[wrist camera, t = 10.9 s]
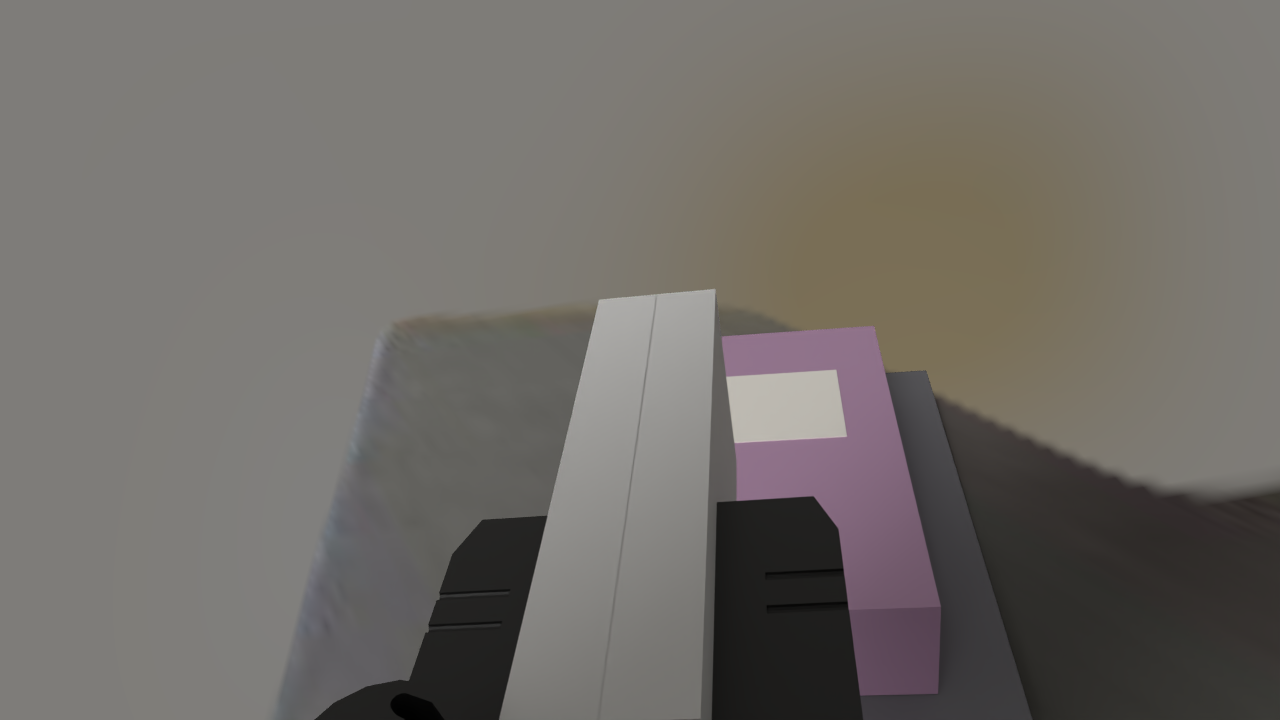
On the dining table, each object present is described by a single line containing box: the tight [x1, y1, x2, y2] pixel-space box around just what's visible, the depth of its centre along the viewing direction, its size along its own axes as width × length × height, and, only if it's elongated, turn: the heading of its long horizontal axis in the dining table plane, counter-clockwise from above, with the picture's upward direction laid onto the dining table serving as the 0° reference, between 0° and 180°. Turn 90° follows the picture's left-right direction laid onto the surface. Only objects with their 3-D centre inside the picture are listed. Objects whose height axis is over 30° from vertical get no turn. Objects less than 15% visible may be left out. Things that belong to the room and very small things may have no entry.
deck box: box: [721, 326, 941, 696], centre depth 36 cm, size 4×10×16 cm
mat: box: [860, 371, 1033, 720], centre depth 33 cm, size 30×14×1 cm, turn 176°
